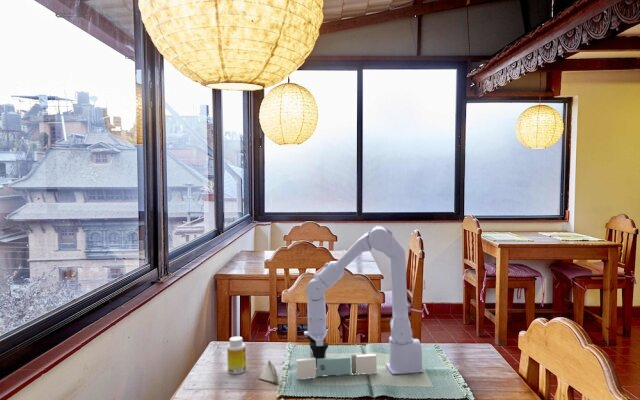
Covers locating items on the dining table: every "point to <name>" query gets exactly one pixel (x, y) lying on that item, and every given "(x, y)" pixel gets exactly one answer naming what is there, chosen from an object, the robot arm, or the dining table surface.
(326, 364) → the door
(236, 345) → the supplement bottle
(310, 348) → the pale grey block
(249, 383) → the dining table surface
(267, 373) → the ceramic fragment
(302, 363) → the frame
